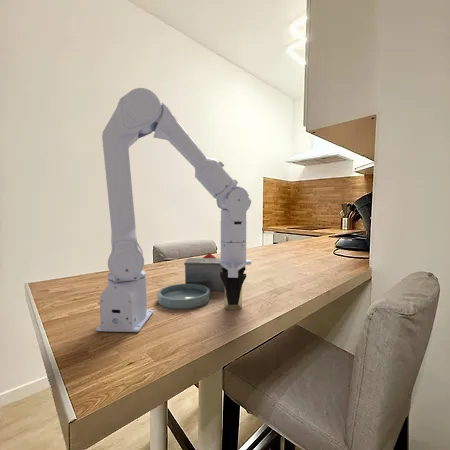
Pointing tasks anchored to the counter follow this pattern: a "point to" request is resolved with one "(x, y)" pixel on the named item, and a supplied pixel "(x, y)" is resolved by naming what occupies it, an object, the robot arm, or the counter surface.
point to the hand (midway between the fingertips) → (233, 300)
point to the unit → (204, 273)
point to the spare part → (233, 307)
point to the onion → (209, 255)
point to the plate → (183, 296)
